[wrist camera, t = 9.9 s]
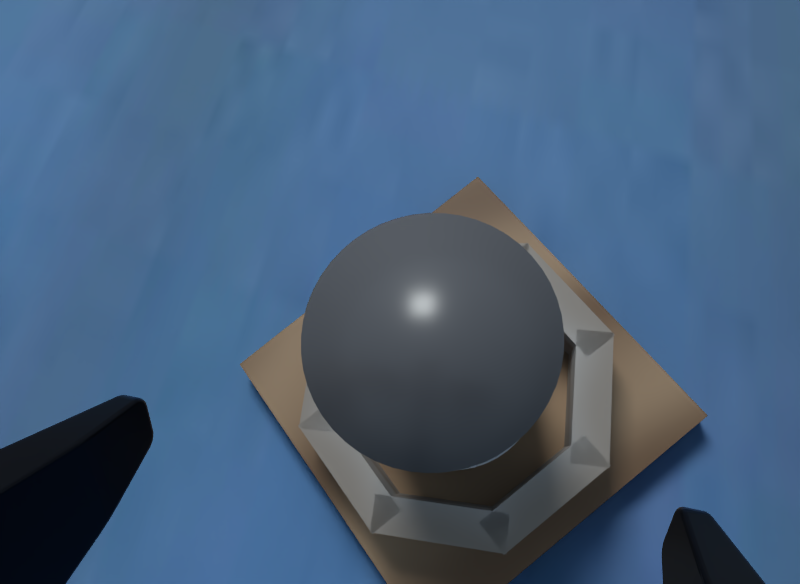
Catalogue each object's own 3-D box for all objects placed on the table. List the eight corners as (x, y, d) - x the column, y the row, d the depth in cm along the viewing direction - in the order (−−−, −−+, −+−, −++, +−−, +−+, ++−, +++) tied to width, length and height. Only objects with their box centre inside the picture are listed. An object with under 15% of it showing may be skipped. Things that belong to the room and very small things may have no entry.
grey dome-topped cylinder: (554, 446, 21) (607, 434, 11) (401, 485, 21) (327, 507, 12) (507, 298, 22) (518, 180, 13) (366, 338, 23) (277, 251, 13)
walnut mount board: (697, 417, 21) (730, 410, 18) (433, 639, 20) (423, 668, 18) (478, 187, 25) (476, 152, 22) (249, 368, 24) (217, 355, 21)
